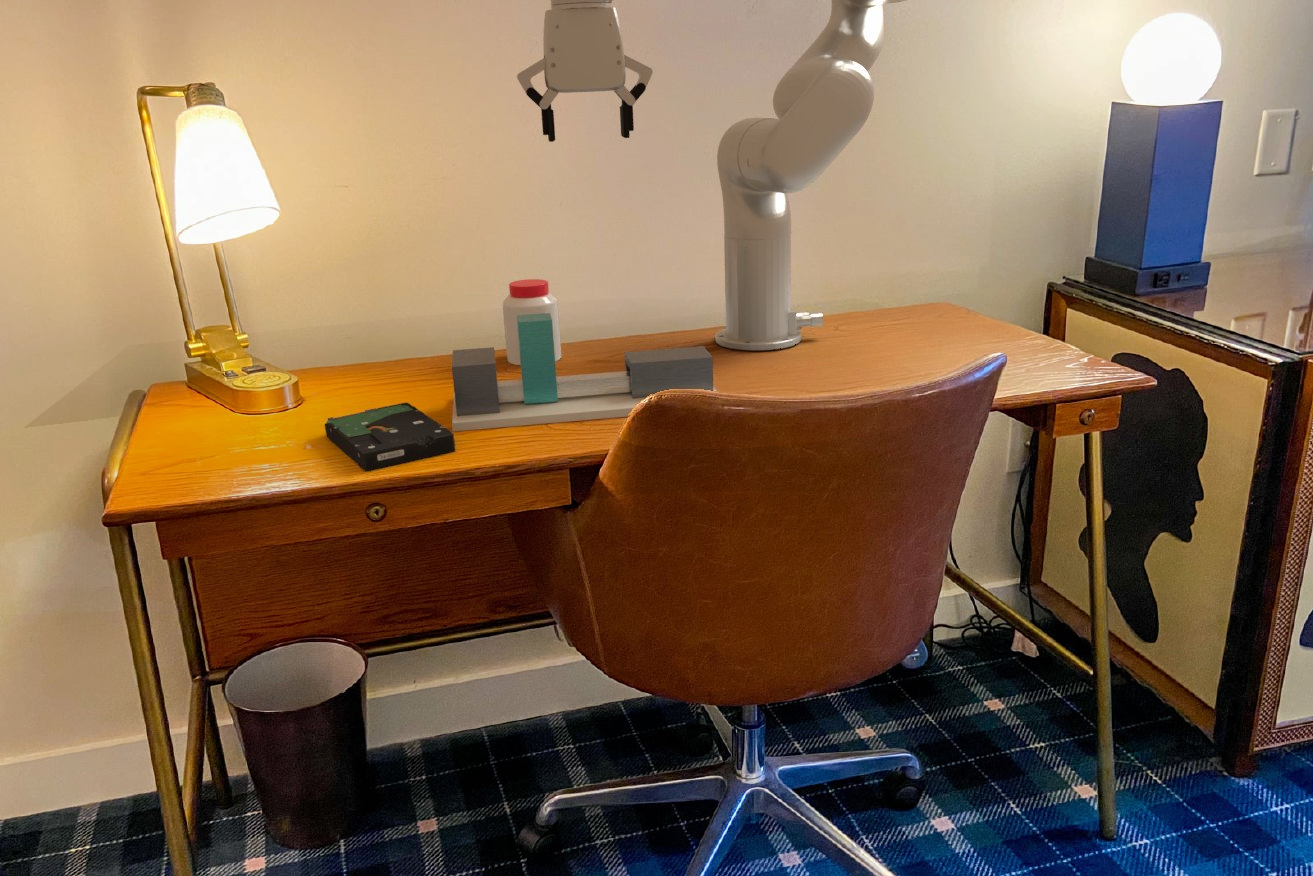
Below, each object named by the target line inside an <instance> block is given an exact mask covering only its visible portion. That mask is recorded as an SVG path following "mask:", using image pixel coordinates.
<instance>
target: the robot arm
mask: <svg viewBox="0 0 1313 876" xmlns="http://www.w3.org/2000/svg"><path fill="white" fill-rule="evenodd" d="M613 1H614V0H550V5H551V6H550V9H548V10H545V11H544V12H545V13H544V20H543V37H542V38H543V40H542V41H543V44H542V45H543V58H542V59H540V60H538V61H536V62H535V63H533V64H531V65H530V66H528V67H527V68H525V69H524V70H522V71H520V72H519V73H517V74H516V78H517V80H518V83H519V84H520V87H522V89H523V91H524V93H525V95H526V96H527V97H528V98H529V99H530V100H531V101H532V102H533V103H535V104H536V106H538V107H539V108H540V110H541V124H542V126H541V127H542V134H543V135H542V136H547V137H548V139H547V140H548V142H550V143H551V142H552V143H553V142H555V141H556V128H555V115H554V114H555V113H554V109H553V108H552V103H553V101H554V100H555V99H556V97H557V96H558V94H559V93H561V94H563V93H564V94H566V93H588V92H589V93H590V92H591V93H593V92H594V93H595V92H611V91H612V92H614V94H616V96H617V97H618V98H619V100H621V105H620V106H619V117H620V118H619V119H620V136H621V137H623V138H624V139H630V132H634V130H635V129H634V106H635V104H636V102H637V101H638V99H639V98H640V97H641V96H642V95H643V94H644V92H645V91H646V89H647V86H648V84H649V82H650V80H651V77H652V74H653V72H654V71H653V69H652V68H651V67H649V66H647V65H645V64H643V63H642V62H639V61H637V60H635V59H634V58H632V57H629V55H628V56H627V55H626V54H625V51H624V43H623V36H622V35H623V34H622V30H621V21H620V19H619V18H620V17H619V14H618V10H617V7H612V2H613ZM906 1H907V0H831V11H830V17H829V20H828V22H827V23H826V25H825V27H824V29H822V31H821V33H820V34H819V35H818V36H817V38H816V39H815V41H813V42H812V44H810V45H809V47H808V48H807V49H806V51H804V53H802V55H801V56H800V57H799V58H798V59H797V60H796V61H795V63H793V65H792V66H791V67H790V68H789V69H788V70H787V71H786V73H785V74H784V75H783V76H782V78H780V80H779V82H778V83H777V85H776V87H775V89H774V92H773V98H772V106H773V110H774V113H775V115H776V117H777V118H773V117H772V118H771V117H770V118H769V117H767V118H766V117H750V118H744V119H742V120H739V121H737V122H735V123H733V124H732V125H731V126H729V127H728V129H726V131H725V132H724V134H723V135H722V137H721V139H720V141H719V144H718V147H717V155H716V159H717V160H716V162H717V163H716V165H717V172H718V179H719V182H720V183H719V184H720V187H721V189H720V190H721V196H722V205H723V206H722V208H723V224H724V225H723V226H724V227H723V228H724V235H723V236H724V237H723V238H724V239H723V240H724V241H723V243H724V244H723V245H724V248H723V249H724V251H723V252H724V297H725V298H724V300H725V301H724V306H725V308H724V309H725V313H724V314H725V328H722V329H719V330H718V331H717V332H715V336H714V337H715V339H714V340H715V342H716V344H717V345H719V346H721V347H724V348H726V349H727V348H728V349H733V350H737V351H738V350H740V351H753V352H754V351H756V352H757V351H759V352H760V351H761V352H762V351H772V350H774V349H775V350H781V349H787V348H790V347H793V346H796V345H798V344H799V343H800V342H801V341H802V332H801V331H800V330H802V329H803V327H810V328H811V327H822V326H823V325H824V316H823V313H822V312H815V313H813V312H811V313H810V312H809V311H802V312H800V311H799V312H797V311H796V310H794V309H793V308H792V307H791V305H792V304H791V301H792V300H791V299H792V293H791V289H792V288H791V287H792V285H791V283H792V282H791V281H792V280H791V279H792V277H791V275H792V270H791V268H792V259H791V258H792V256H791V254H792V214H791V206H790V201H789V197H788V196H789V195H788V194H795V193H797V192H800V191H803V190H805V189H806V188H808V187H809V186H811V185H812V184H813V183H814V182H815V181H816V180H817V179H818V178H819V177H820V176H821V175H822V174H823V173H824V172H825V171H826V170H827V168H829V166H831V164H832V163H833V162H834V161H835V159H836V158H837V157H838V156H839V155H840V153H842V151H843V150H844V149H845V148H846V147H847V145H849V144H850V143H851V141H852V140H853V139H854V137H855V136H856V135H858V133H859V132H860V131H861V130H862V128H863V126H864V125H865V123H866V122H867V120H868V118H869V116H870V113H871V112H872V109H873V105H874V100H875V87H874V82H873V79H872V77H871V75H870V74H869V70H870V69H871V68H872V66H873V65H874V64H875V62H876V61H877V60H878V59H879V56H880V54H881V52H882V48H883V44H884V38H885V35H884V34H885V29H884V28H885V26H884V25H885V23H884V21H885V20H884V16H885V15H884V6H883V5H886V4H893V3H894V4H895V3H901V2H906ZM626 68H627V69H629V70H630V71H633V72H634V73H637V74H638V79H637V82H636V84H634V86H633V87H632V88H631V89H630V90H629V89H628V88H627V87H626V86H625V84H626ZM542 72H544V73H543V74H544V83H545V86H546V88H547V89H546V90H545V92H544V93H543V95H542V94H541V93H539V92H538V91H537V89H535V87H534V86H533V85H534V84H532V81H531V80H532V78H533V77H535V76H536V75H538V74H539V73H542ZM795 344H796V345H795ZM780 348H781V349H780Z"/></svg>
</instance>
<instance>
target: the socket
mask: <svg viewBox="0 0 1313 876" xmlns="http://www.w3.org/2000/svg"><path fill="white" fill-rule="evenodd" d="M496 363H497V362H496V351H495V347H494V346H493V347H481V348H480V347H479V348H467V349H466V348H465V349H453V350H452V359H451V371H452V381H453V383H452V384H453V391H454V392H453V394H454V393H455V403H456V412H457V416H467V415H479V414H491V413H500V408H499V397H498V386H497V381H498V375H497V365H496Z"/></svg>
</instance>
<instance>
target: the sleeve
mask: <svg viewBox="0 0 1313 876" xmlns="http://www.w3.org/2000/svg"><path fill="white" fill-rule="evenodd" d="M624 364H625V366H624V367H625V371H630V373H631V394H632V398H633V399H635V398H646V397H647V396H649V395H650V394H655V393H657V392H660V391H664V390H669V389H704V390H711V391H713V386H714V358H713V356H712V354H711V353H710V352H709V351H708V350H707V349H706V347H705V346H704V345H701V346H688V347H687V346H686V347H676V348H675V347H674V348H664V349H660V348H659V349H649V350H637V351H635V350H634V351H625V352H624Z"/></svg>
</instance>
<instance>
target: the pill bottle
mask: <svg viewBox="0 0 1313 876" xmlns="http://www.w3.org/2000/svg"><path fill="white" fill-rule="evenodd" d="M508 289H509V295H508V296H507V297H506V298H505V299H504V300H503V301H502V310H503V311H502V314H503V322H504V323H503V324H504V337H505V347H506V358H507V359H506V360H507V363H509V364H512V365H515V366H521V363H520V351H519V339H518V326H517V315H528V314H542V313H550V315H551V318H552V326H553V340H554V354H555V363H556V362H558V361H559V360H561V359H562V347H561V346H562V345H561V331H560V316H559V304H558V302H559V300H558V298H557V297H556V296H555V295H553V293H551V292H549V291H550V290H549V289H550V288H549V281H548V280H546V279H540V278H532V279H531V278H530V279H520V280H515V281H511V282H509V283H508ZM560 358H561V359H560Z"/></svg>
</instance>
